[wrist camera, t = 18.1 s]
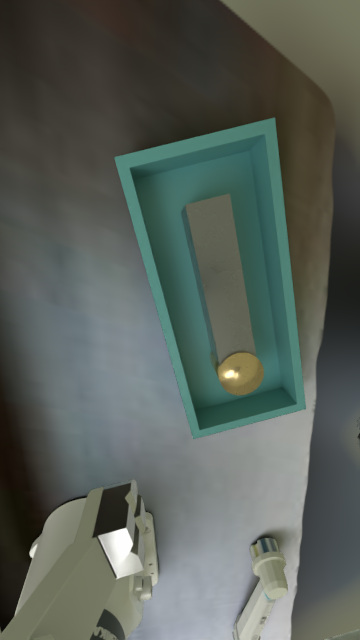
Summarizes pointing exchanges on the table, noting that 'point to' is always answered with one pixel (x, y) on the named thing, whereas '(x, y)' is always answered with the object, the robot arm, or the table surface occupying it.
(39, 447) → the table surface
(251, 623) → the white flashlight
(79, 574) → the robot arm
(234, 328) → the strut
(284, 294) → the bin
